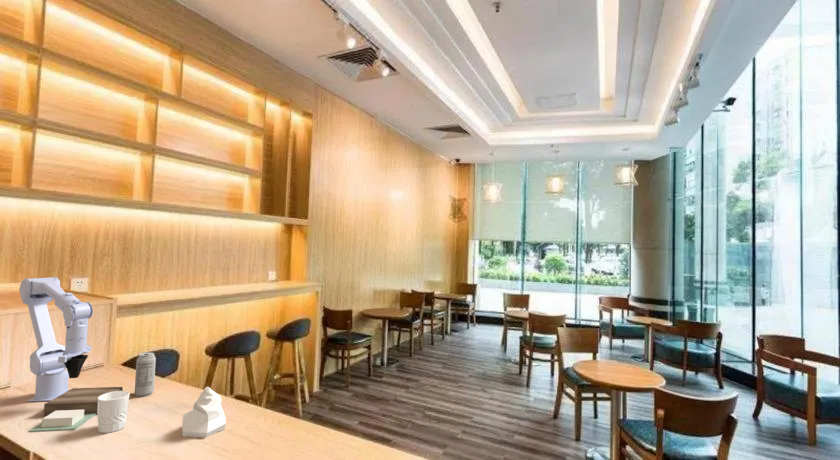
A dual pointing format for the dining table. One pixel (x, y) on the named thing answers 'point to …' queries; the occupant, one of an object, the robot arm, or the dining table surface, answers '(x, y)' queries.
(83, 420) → the mat
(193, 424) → the white faceted lump
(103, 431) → the white cup
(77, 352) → the robot arm
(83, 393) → the brown flat block
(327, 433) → the dining table surface
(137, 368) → the energy drink can
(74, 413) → the tile
